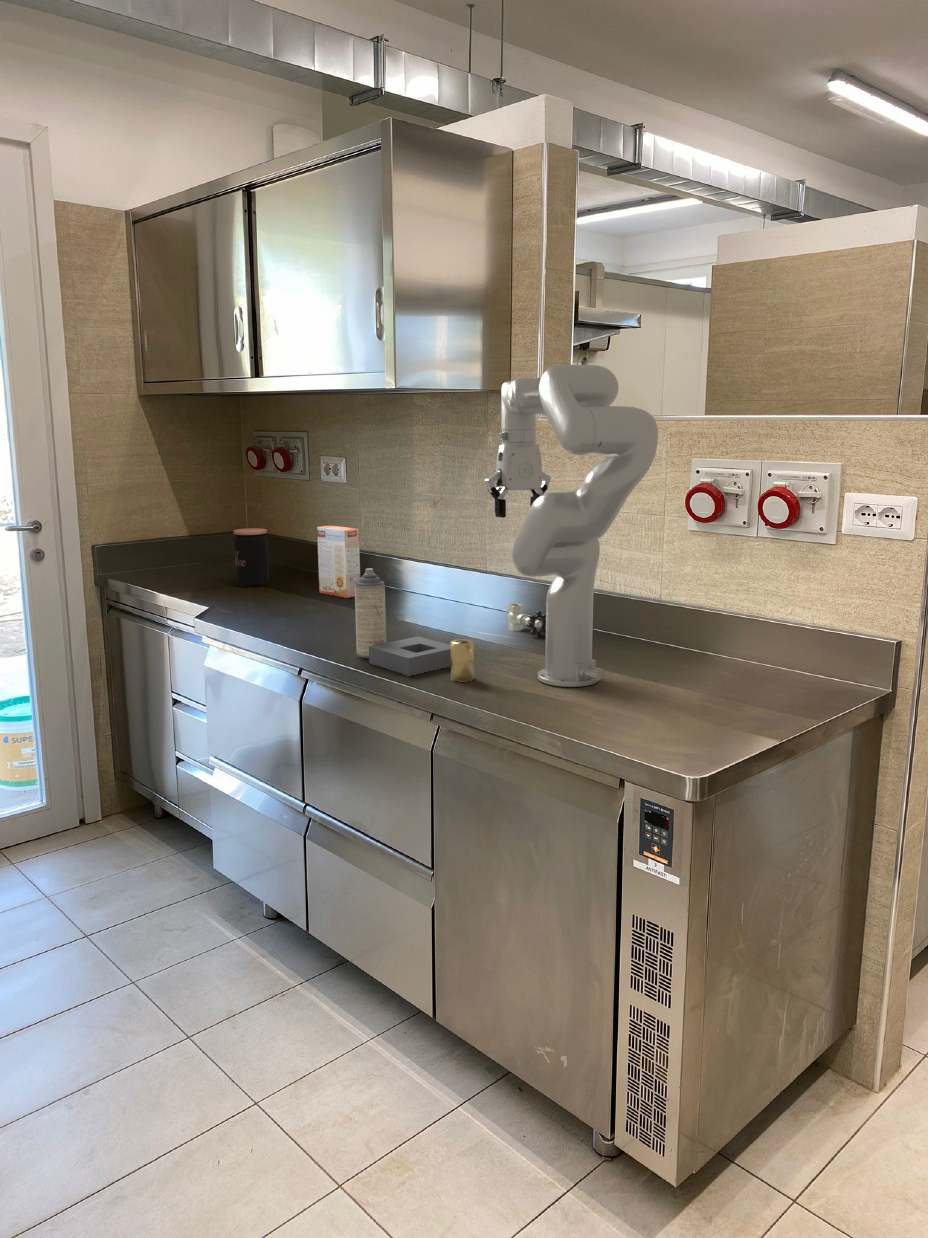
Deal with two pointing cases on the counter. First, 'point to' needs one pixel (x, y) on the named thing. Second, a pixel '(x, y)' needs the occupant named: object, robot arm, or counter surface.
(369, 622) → the aerosol can
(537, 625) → the valve
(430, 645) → the block
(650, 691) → the counter surface
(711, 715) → the counter surface
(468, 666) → the brass bushing
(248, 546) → the coffee jar
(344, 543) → the cracker box
